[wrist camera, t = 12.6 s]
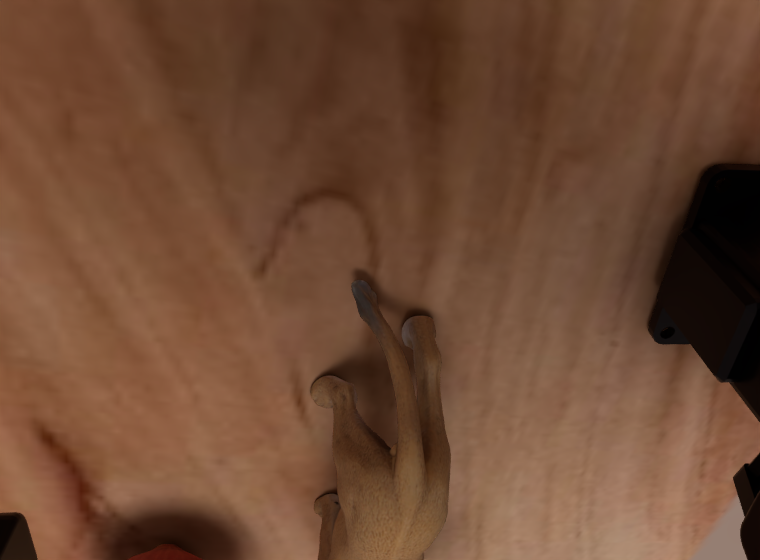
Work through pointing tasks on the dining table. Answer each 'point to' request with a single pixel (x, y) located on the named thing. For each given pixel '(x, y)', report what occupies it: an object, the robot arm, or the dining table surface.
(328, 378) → the lion figurine
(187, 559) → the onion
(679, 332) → the robot arm
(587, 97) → the dining table surface
